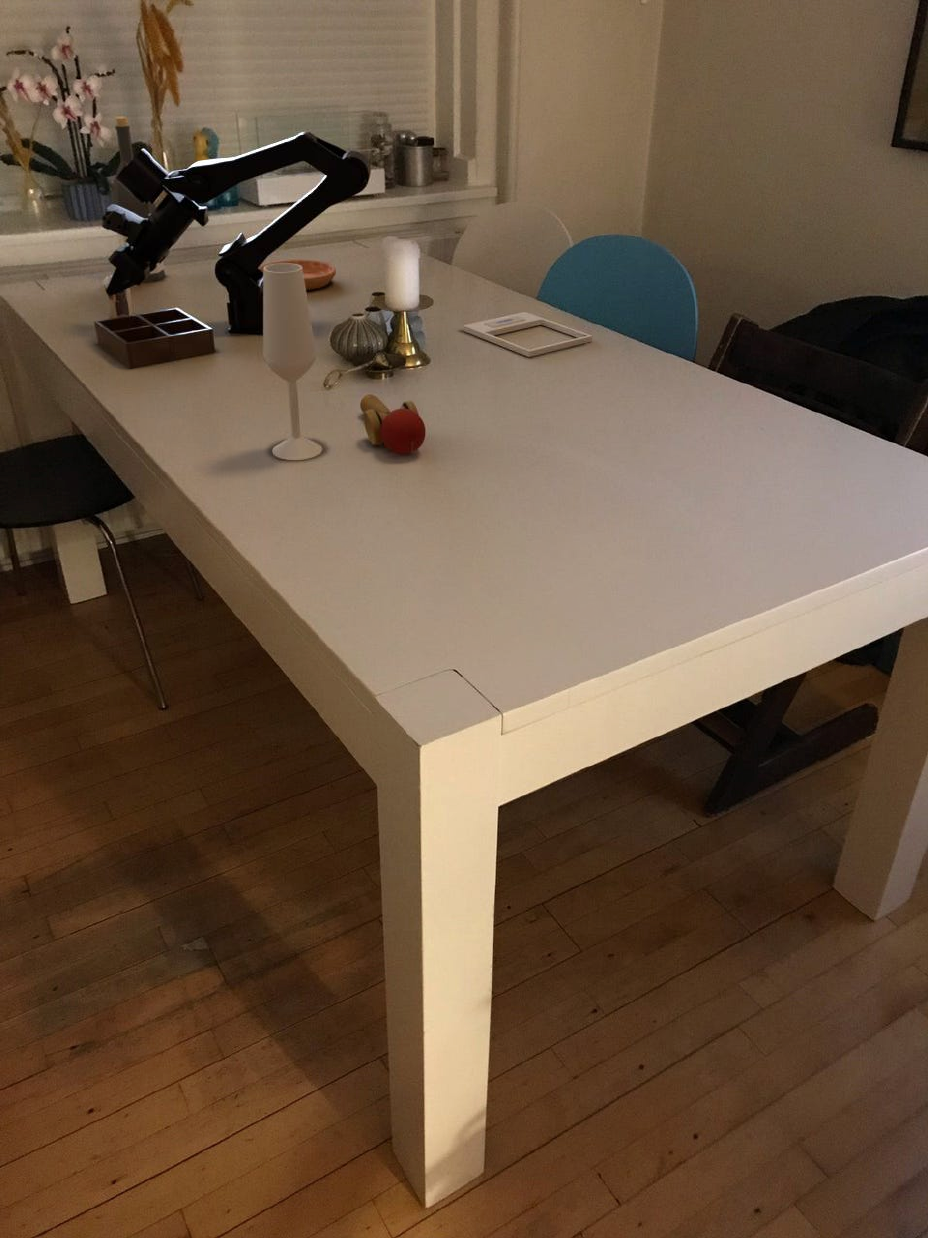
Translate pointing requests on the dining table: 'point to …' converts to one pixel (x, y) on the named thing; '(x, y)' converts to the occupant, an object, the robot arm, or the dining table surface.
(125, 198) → the wine bottle
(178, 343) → the organiser
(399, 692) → the dining table surface
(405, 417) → the kendama
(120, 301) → the milkshake
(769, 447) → the dining table surface
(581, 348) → the dining table surface
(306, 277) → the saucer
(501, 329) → the photo frame
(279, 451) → the champagne flute
